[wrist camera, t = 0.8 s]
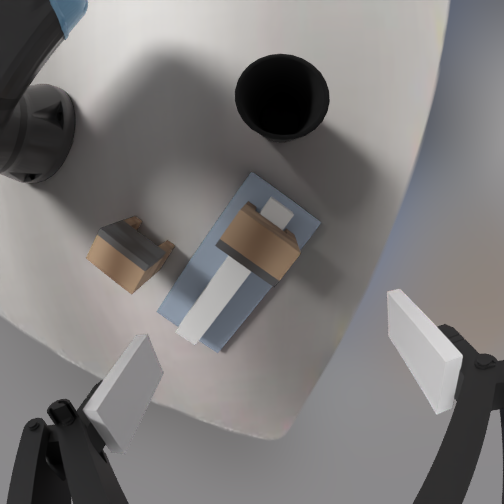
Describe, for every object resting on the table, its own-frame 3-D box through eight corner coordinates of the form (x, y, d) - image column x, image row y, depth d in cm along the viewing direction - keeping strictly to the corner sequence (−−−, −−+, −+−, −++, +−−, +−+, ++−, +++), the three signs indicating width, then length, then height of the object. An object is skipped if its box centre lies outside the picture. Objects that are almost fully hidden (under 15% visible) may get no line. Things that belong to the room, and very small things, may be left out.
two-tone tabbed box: (121, 240, 39) (86, 258, 30) (135, 216, 38) (100, 228, 29) (160, 269, 40) (131, 294, 31) (175, 245, 39) (148, 265, 30)
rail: (159, 308, 41) (148, 321, 37) (252, 171, 36) (249, 171, 32) (218, 349, 42) (213, 365, 38) (320, 221, 37) (325, 226, 33)
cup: (237, 138, 35) (221, 121, 23) (259, 81, 33) (253, 42, 22) (299, 160, 35) (311, 153, 24) (320, 103, 33) (341, 73, 22)
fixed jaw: (294, 234, 36) (300, 253, 28) (274, 261, 37) (274, 287, 29) (248, 201, 36) (240, 209, 27) (228, 228, 37) (214, 245, 28)
